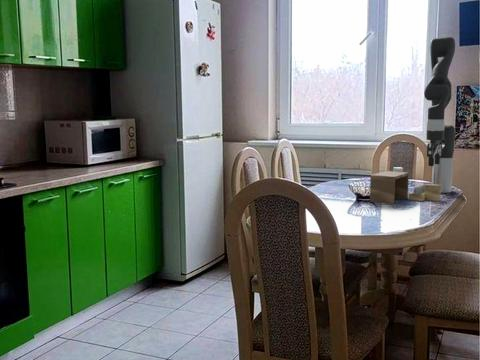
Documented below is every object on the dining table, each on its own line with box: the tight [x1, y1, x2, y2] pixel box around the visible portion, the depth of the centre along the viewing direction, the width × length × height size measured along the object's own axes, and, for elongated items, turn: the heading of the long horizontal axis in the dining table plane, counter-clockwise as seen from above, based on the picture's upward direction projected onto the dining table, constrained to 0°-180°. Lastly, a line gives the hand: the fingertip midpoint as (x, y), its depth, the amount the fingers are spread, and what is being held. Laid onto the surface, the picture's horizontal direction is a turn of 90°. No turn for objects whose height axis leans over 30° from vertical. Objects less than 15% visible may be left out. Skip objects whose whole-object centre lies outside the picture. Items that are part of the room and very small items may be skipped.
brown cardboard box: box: [369, 170, 410, 205], centre depth 250 cm, size 18×11×12 cm, turn 143°
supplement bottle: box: [392, 166, 404, 172], centre depth 269 cm, size 7×7×13 cm
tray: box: [408, 183, 441, 202], centre depth 252 cm, size 12×12×7 cm
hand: (434, 165), depth 249 cm, fingers open, 8 cm apart
